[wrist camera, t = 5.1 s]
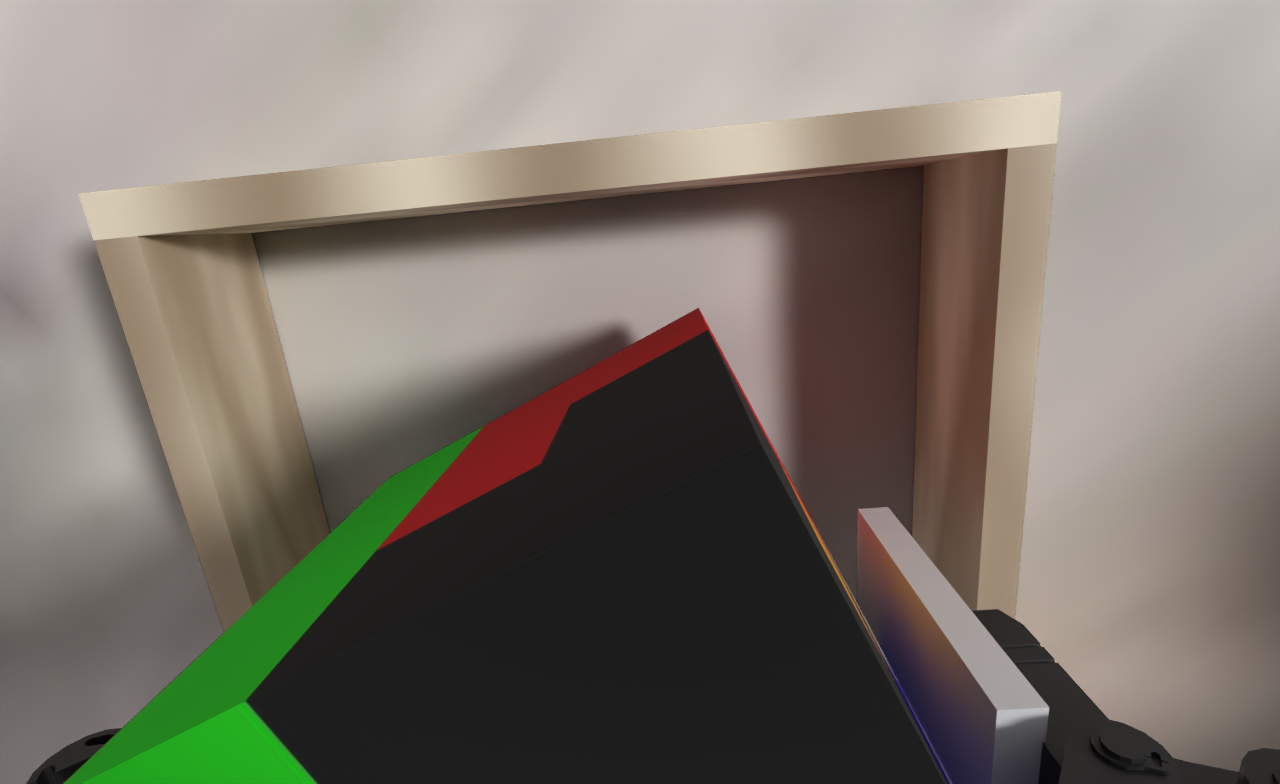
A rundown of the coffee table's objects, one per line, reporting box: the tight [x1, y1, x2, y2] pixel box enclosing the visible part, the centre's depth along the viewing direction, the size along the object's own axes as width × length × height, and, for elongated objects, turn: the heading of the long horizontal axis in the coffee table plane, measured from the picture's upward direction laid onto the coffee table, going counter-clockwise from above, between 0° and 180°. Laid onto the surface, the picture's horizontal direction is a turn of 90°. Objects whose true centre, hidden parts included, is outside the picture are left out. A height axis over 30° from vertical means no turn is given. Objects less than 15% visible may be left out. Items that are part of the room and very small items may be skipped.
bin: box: [78, 91, 1061, 784], centre depth 17 cm, size 21×21×4 cm
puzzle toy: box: [63, 308, 951, 784], centre depth 13 cm, size 10×10×10 cm
